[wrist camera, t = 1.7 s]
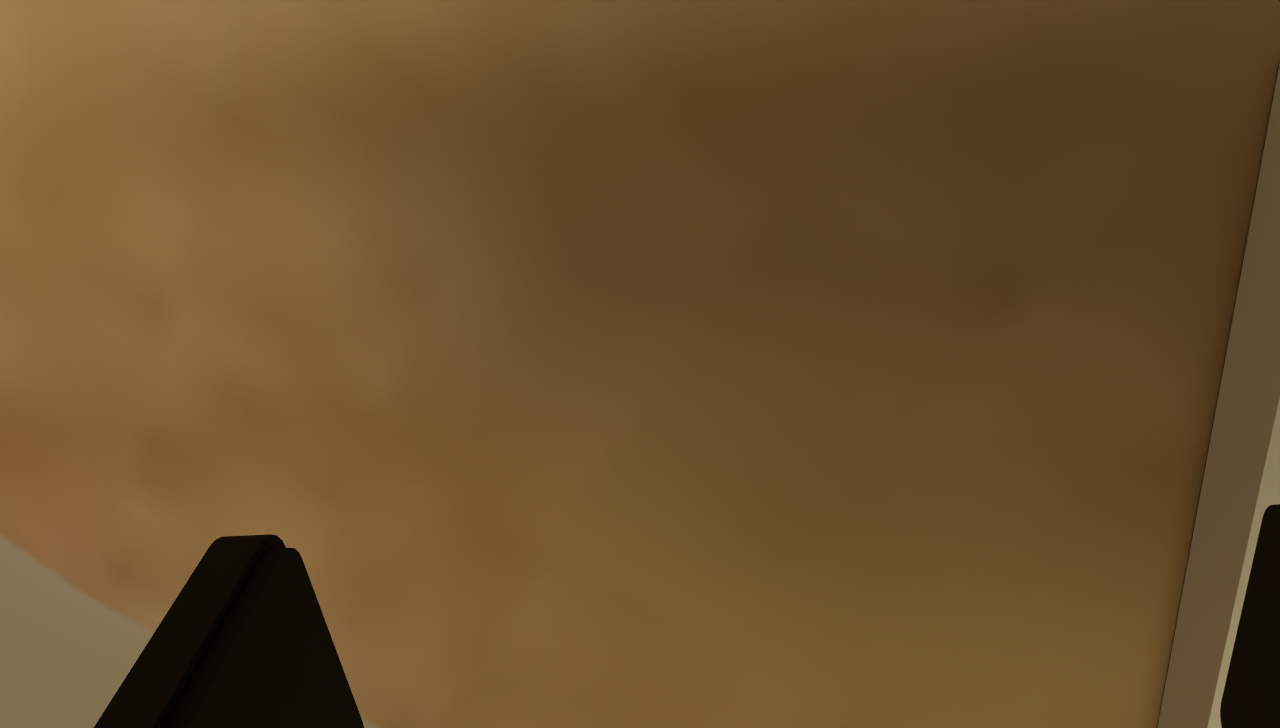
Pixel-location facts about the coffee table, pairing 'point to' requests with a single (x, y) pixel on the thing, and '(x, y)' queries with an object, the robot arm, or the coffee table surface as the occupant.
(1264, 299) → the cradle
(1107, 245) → the coffee table surface
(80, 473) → the coffee table surface
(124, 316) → the coffee table surface
